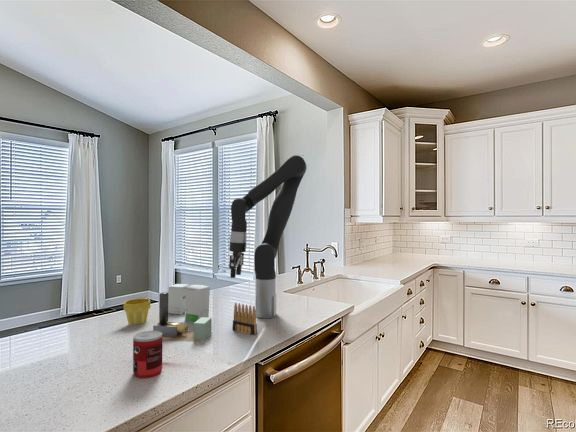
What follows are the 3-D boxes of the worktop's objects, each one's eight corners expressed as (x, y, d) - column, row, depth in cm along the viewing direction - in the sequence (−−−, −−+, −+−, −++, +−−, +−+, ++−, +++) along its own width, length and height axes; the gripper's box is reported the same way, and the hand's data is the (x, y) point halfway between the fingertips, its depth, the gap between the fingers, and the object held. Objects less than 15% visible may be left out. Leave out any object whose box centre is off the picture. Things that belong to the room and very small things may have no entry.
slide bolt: (188, 331, 127) (188, 293, 127) (184, 334, 124) (184, 295, 124) (160, 330, 129) (160, 292, 128) (156, 333, 125) (156, 294, 125)
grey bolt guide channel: (182, 332, 128) (182, 322, 128) (176, 337, 123) (176, 326, 123) (160, 331, 130) (160, 321, 130) (153, 336, 124) (153, 325, 124)
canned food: (138, 366, 102) (138, 330, 102) (165, 366, 103) (165, 330, 103) (128, 379, 94) (128, 339, 94) (158, 378, 95) (158, 339, 95)
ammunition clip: (257, 337, 128) (257, 305, 128) (254, 338, 126) (254, 306, 126) (235, 332, 133) (235, 301, 133) (232, 333, 132) (232, 302, 132)
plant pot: (117, 325, 140) (118, 302, 140) (139, 319, 149) (139, 296, 149) (134, 329, 135) (134, 305, 135) (155, 322, 144) (155, 299, 144)
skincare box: (184, 323, 144) (184, 286, 144) (194, 319, 149) (195, 283, 149) (199, 326, 140) (200, 288, 140) (210, 321, 146) (210, 285, 146)
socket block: (211, 333, 128) (211, 317, 128) (204, 340, 121) (204, 323, 121) (201, 332, 128) (201, 317, 128) (193, 339, 121) (193, 323, 121)
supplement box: (182, 314, 156) (182, 287, 156) (167, 313, 158) (167, 286, 158) (189, 310, 163) (189, 284, 163) (175, 309, 165) (176, 283, 165)
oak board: (212, 335, 129) (212, 332, 129) (202, 345, 119) (202, 341, 119) (163, 332, 132) (163, 329, 132) (149, 342, 122) (149, 338, 122)
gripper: (241, 243, 149) (238, 279, 149) (250, 241, 163) (247, 274, 163) (225, 241, 150) (222, 278, 150) (235, 239, 164) (232, 273, 164)
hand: (235, 276), depth 156 cm, fingers open, 8 cm apart
